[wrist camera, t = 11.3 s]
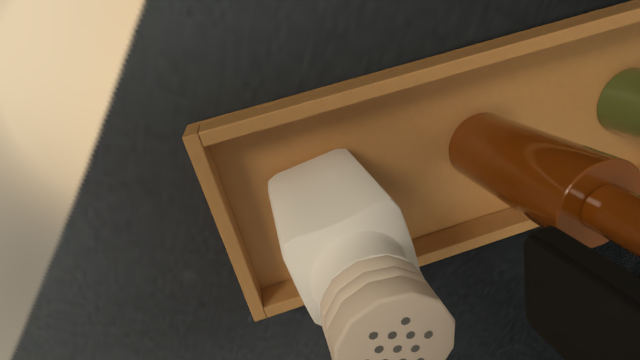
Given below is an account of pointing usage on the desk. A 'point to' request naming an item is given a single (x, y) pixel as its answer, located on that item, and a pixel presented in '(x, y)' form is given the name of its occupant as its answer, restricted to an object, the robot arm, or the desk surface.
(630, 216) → the amber bottle
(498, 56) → the tray
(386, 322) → the pepper shaker
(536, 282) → the robot arm
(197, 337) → the desk surface
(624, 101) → the olive bottle
